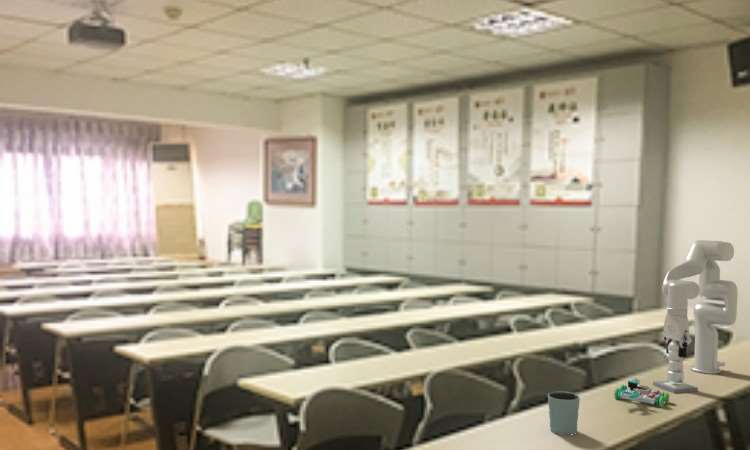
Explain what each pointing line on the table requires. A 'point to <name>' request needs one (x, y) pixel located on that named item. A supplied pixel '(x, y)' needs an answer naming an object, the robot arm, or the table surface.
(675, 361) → the plastic bottle
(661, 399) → the robot kit
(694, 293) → the robot arm
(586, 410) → the table surface
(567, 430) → the grey blue cup
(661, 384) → the grey flat square slab
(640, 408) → the table surface
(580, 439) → the table surface
